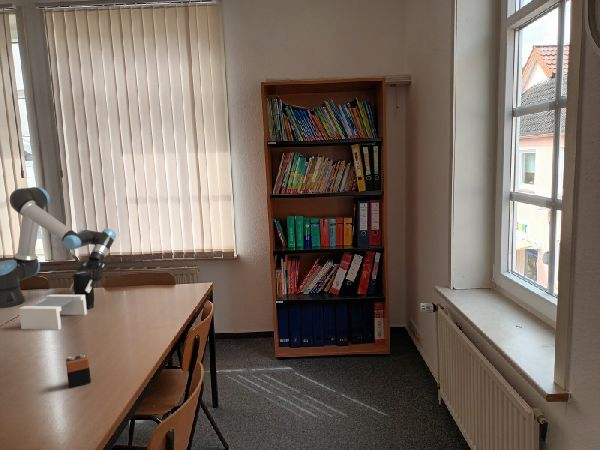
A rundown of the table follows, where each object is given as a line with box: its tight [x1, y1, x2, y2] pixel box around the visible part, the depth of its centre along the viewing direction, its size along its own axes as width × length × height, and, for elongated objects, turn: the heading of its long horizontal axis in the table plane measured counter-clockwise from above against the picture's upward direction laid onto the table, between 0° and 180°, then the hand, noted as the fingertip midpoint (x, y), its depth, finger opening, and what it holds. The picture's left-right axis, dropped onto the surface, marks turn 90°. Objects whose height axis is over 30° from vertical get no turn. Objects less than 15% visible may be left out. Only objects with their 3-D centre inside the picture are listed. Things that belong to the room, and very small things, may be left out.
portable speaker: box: [73, 270, 95, 309], centre depth 243 cm, size 9×9×20 cm
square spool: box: [18, 293, 88, 331], centre depth 224 cm, size 22×19×10 cm
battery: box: [65, 353, 92, 389], centre depth 159 cm, size 4×7×10 cm, turn 120°
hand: (79, 291), depth 240 cm, fingers closed on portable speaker, 9 cm apart
